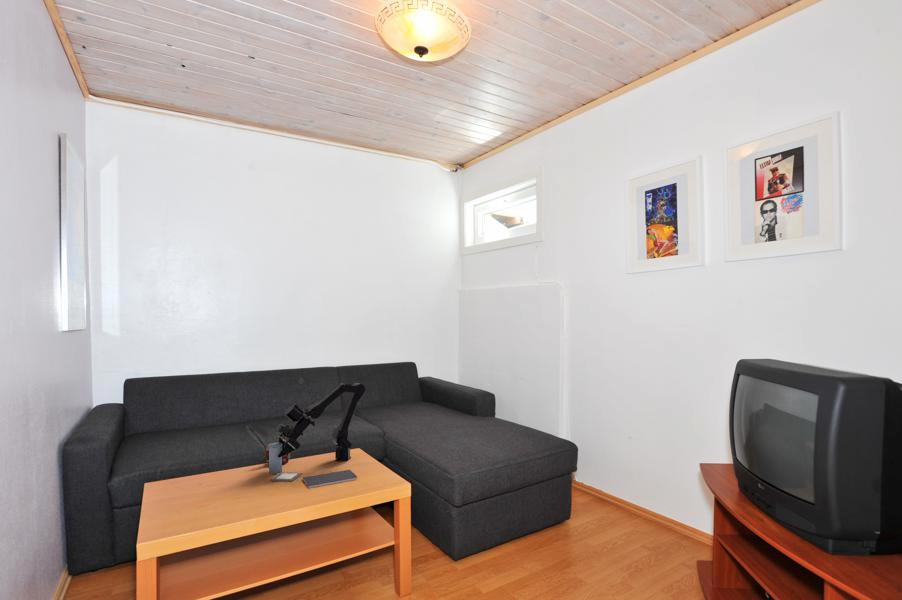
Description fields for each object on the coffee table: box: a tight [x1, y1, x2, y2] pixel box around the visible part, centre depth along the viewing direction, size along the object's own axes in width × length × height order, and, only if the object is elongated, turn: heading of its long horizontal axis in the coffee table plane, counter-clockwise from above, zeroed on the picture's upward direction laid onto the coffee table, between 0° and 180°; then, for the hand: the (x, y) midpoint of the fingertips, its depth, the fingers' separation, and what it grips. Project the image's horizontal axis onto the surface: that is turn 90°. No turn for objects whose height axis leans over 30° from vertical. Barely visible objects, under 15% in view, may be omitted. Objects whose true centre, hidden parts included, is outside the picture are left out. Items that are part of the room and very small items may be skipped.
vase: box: [268, 442, 283, 475], centre depth 217 cm, size 6×6×13 cm
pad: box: [270, 472, 303, 482], centre depth 208 cm, size 10×10×1 cm
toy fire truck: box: [264, 443, 292, 465], centre depth 231 cm, size 7×12×10 cm, turn 125°
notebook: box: [302, 469, 358, 489], centre depth 204 cm, size 13×2×21 cm
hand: (275, 455), depth 217 cm, fingers open, 9 cm apart
